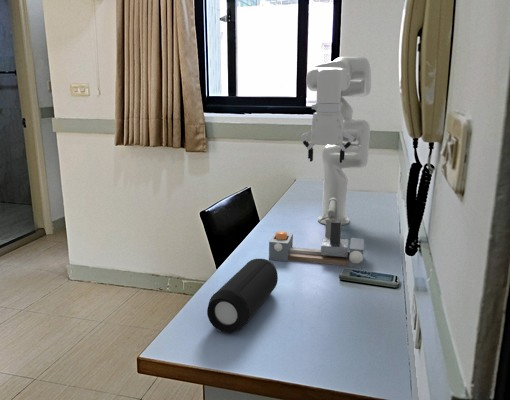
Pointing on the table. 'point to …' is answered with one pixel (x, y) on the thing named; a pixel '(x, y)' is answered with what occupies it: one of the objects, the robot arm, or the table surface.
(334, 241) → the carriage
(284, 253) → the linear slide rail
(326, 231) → the geiger counter
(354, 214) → the table surface
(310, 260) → the rail base
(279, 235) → the button
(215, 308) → the portable speaker
